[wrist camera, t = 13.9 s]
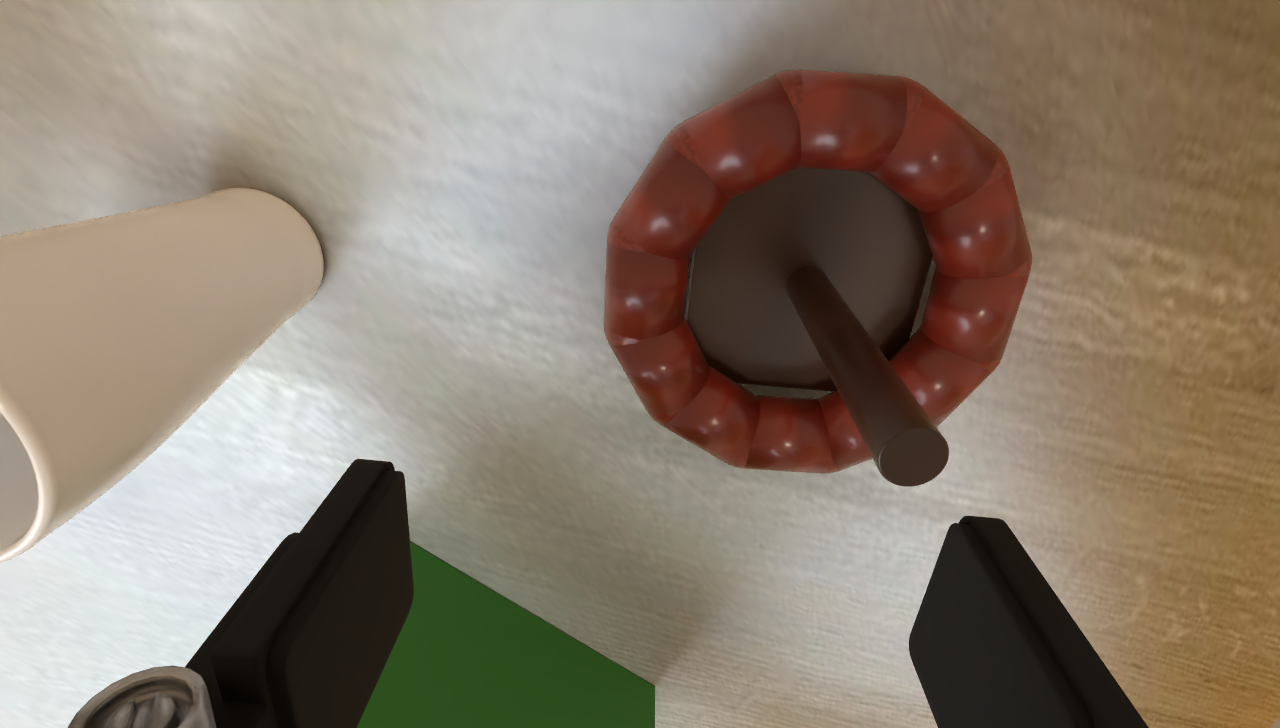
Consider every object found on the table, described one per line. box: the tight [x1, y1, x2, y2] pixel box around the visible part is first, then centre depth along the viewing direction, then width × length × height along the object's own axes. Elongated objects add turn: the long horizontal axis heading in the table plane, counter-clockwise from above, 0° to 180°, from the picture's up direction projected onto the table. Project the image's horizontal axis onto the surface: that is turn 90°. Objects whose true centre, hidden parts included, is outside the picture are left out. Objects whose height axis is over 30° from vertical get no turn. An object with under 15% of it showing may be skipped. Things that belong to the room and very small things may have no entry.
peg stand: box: [685, 167, 949, 486], centre depth 21 cm, size 9×9×14 cm
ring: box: [604, 70, 1032, 474], centre depth 25 cm, size 15×15×3 cm
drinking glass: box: [0, 188, 324, 563], centre depth 21 cm, size 7×7×15 cm
